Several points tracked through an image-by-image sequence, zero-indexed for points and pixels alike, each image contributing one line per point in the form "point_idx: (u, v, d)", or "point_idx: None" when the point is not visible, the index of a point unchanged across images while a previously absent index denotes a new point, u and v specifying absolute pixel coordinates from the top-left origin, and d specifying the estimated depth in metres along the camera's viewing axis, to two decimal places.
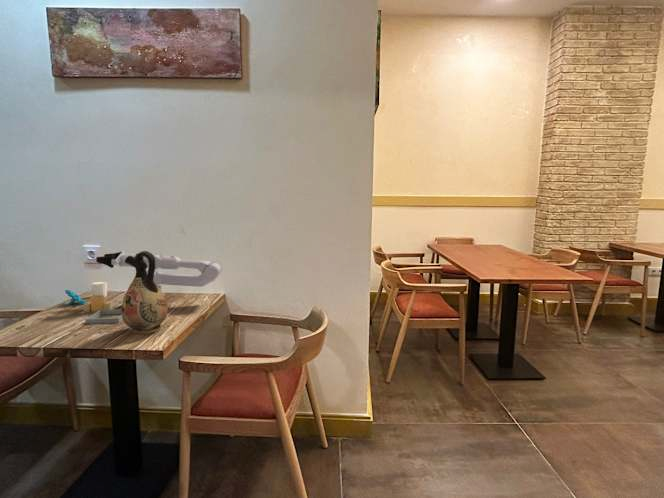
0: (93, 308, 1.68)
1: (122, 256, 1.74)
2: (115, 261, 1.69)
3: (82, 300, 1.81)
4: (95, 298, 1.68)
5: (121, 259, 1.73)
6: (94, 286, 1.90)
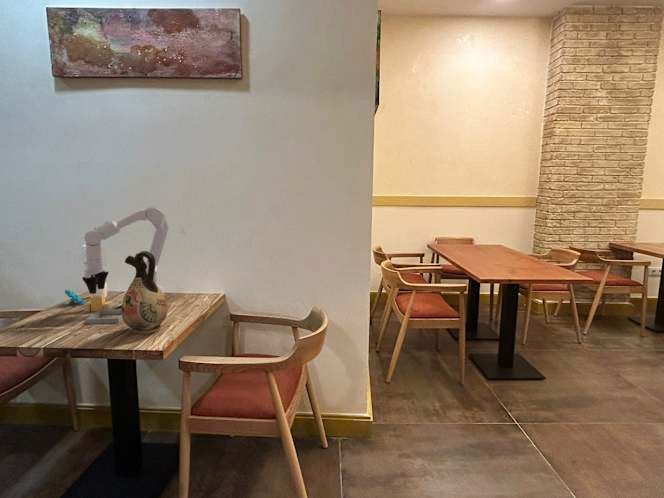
0: (93, 308, 1.68)
1: (88, 269, 1.65)
2: (86, 274, 1.61)
3: (82, 300, 1.81)
4: (95, 298, 1.68)
5: (90, 270, 1.65)
6: None
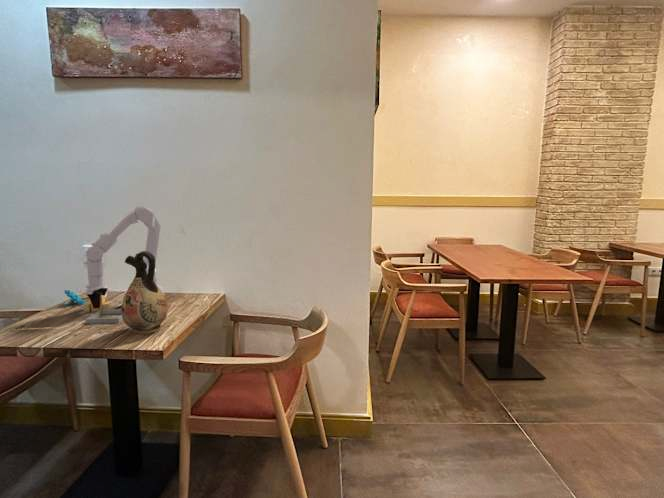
0: (93, 308, 1.68)
1: (89, 285, 1.66)
2: (87, 290, 1.62)
3: (81, 300, 1.81)
4: None
5: (92, 286, 1.66)
6: None
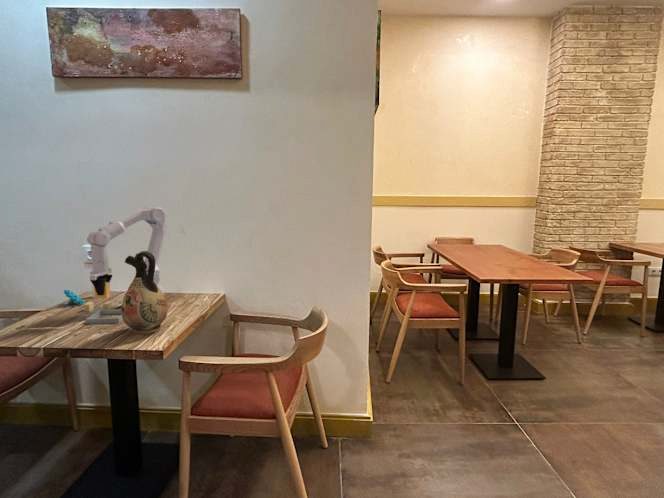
0: (97, 296, 1.61)
1: (93, 271, 1.59)
2: (91, 276, 1.55)
3: (81, 300, 1.81)
4: None
5: (96, 272, 1.59)
6: None
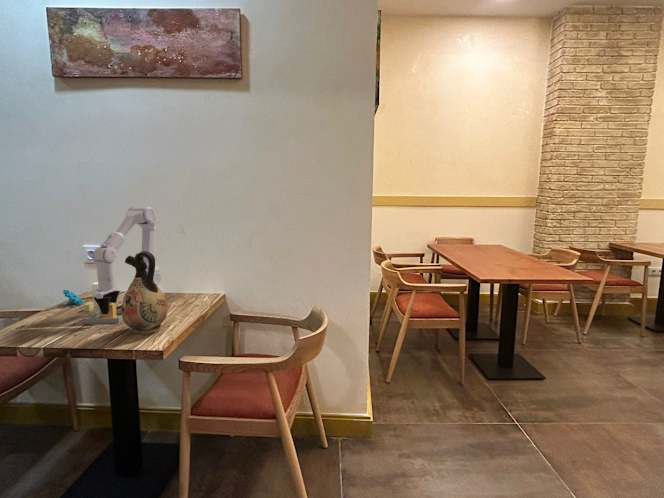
0: (103, 317, 1.58)
1: (99, 289, 1.55)
2: (97, 294, 1.51)
3: (80, 300, 1.81)
4: None
5: (102, 289, 1.55)
6: (94, 286, 1.90)
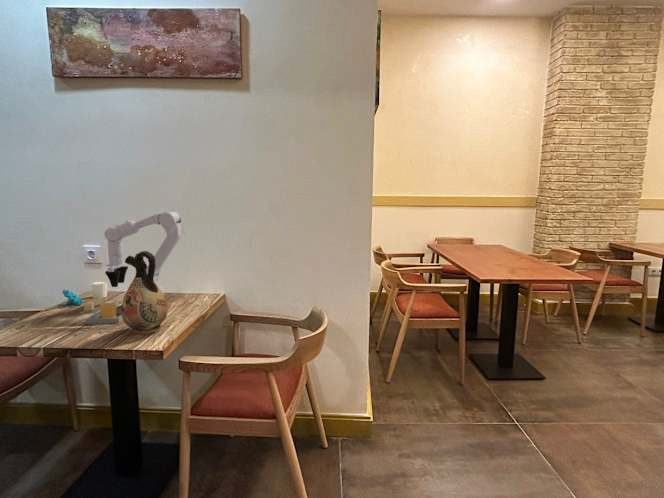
0: (103, 317, 1.58)
1: (110, 264, 1.75)
2: (109, 268, 1.70)
3: (80, 300, 1.81)
4: (105, 306, 1.57)
5: (112, 264, 1.74)
6: (94, 286, 1.90)
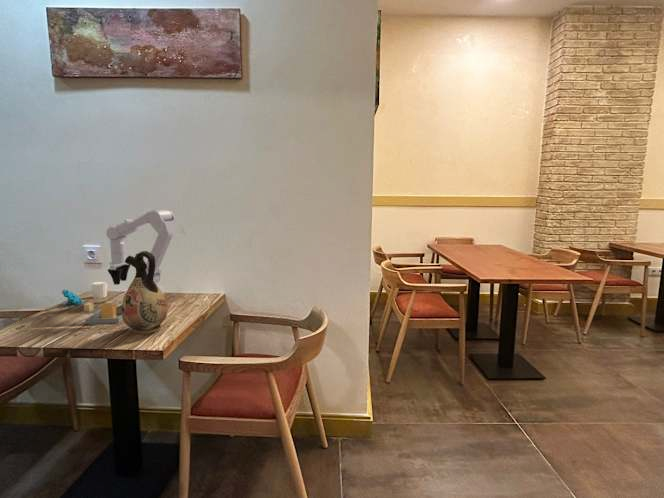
0: (103, 317, 1.58)
1: (112, 262, 1.79)
2: (111, 266, 1.75)
3: (79, 300, 1.81)
4: (105, 306, 1.57)
5: (115, 262, 1.79)
6: (94, 286, 1.90)
